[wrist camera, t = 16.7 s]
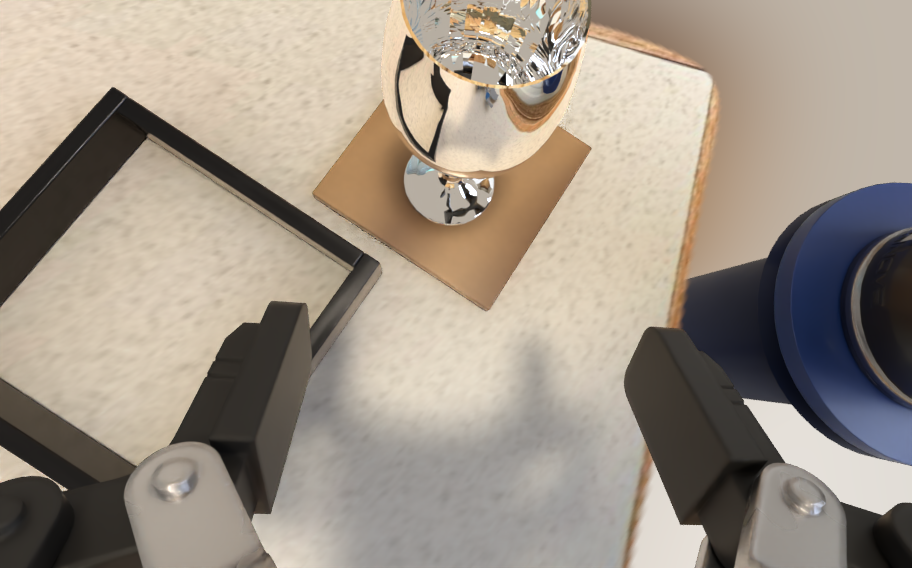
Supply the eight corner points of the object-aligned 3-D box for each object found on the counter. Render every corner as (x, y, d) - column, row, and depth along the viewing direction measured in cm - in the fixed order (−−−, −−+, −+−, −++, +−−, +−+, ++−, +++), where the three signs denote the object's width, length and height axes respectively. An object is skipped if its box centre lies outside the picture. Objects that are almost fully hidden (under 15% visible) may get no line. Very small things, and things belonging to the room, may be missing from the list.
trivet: (587, 152, 25) (592, 147, 24) (486, 311, 23) (488, 310, 22) (428, 46, 25) (428, 39, 24) (313, 197, 23) (311, 193, 22)
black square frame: (382, 272, 23) (380, 262, 20) (200, 533, 20) (172, 558, 18) (144, 115, 22) (111, 85, 20) (-69, 358, 20) (-136, 358, 17)
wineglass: (521, 223, 23) (645, 85, 11) (407, 252, 22) (410, 135, 10) (489, 115, 24) (572, -123, 12) (376, 139, 23) (346, -91, 11)
